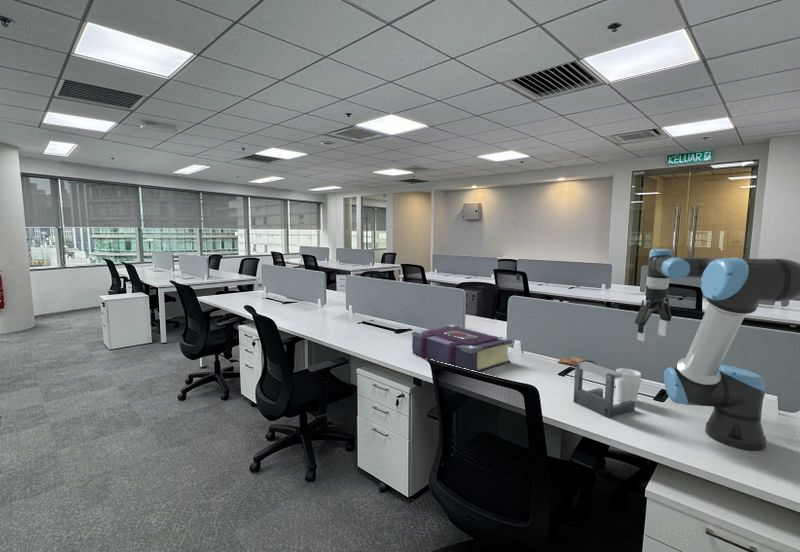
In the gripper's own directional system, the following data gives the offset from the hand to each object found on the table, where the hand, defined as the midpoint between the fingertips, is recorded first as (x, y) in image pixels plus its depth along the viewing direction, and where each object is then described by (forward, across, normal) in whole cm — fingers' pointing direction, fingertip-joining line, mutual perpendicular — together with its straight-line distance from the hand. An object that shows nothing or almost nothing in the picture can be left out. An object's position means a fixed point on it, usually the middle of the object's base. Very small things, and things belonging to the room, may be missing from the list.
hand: (651, 337), depth 159 cm
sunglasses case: (+28, -5, -39) cm, 48 cm away
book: (+28, +44, -74) cm, 91 cm away
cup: (+24, +14, +1) cm, 28 cm away
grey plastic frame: (+24, +27, +1) cm, 36 cm away
